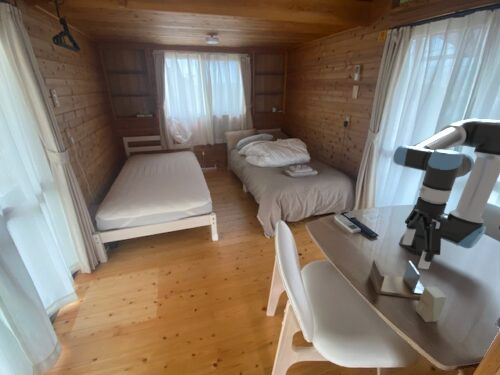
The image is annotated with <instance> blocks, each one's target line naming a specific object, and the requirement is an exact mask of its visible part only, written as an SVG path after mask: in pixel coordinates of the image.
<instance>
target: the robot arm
mask: <svg viewBox="0 0 500 375" xmlns="http://www.w3.org/2000/svg"><path fill="white" fill-rule="evenodd" d="M458 146H461V147H469V148H474V151H473V153H474V155H475V156H476V158H475V161H474V159H473V157H472V156H471V155H469V154H467V153H463V152H459V151H456V150H451V148H455V147H458ZM449 149H450V150H449ZM392 159H393V163H394V164H395V165H397V166H401V167H403V168H409V169H410V168H411V169H414V170H419V171H423V172H425V174H424V177H423V179H422V180H423V181H422V184H421V187H420V188H419V195H418V197H417V199H416V203H415V204H414V206H413V209H412V211H410V213H409V215H408V216H407V217H406V219H405V221H404V223H405V224H406V229H405V232H404V233H403V235H401V237H400V239H399V245H400V246H401V248H402V249H404V250H405V251H406V252H409V253H411V254H413V255H416V256H420V259H419V262H418V265H417V268H418V269H424V270H429V268H430V267H431V262H432V261H433V259H434V255H436V256H440V255H441V248H442V247H441V245H442V240H443V241H445V242H449V243H452V244H453V245H455V246H458V247H461V248H463V249H472V248H474V247H475V246H476V245H477V243H478V242H479V241H480V239H482V237H483V236H484V234H485V232H486V230H487V227H486V226H485V225H483V224H484V223H485V221H484V219H483V218H482V215H483V212H484V210H485V208H486V206H487V204H488V201H489V199H490V197H491V194H492V193H493V190H494V187H496V183H497V181H498V179H499V177H500V119H488V118H487V119H486V118H469V119H463V120H458V121H456V122H452V123H450V124H447V125H446V126H444V127H442V128H441V129H440V131H439V132H438V133H435V134H433V135H431V136H429V137H428V138H425V139H423V140H422V141H420V142H418V143H416V144H414V145H412V146H410V145H408V144H407V145H403V144H402V145H399V146H398V147H397V148H396V149H395V151H394V153H393V157H392ZM467 174H468V175H469V176H468V177H467V180H466V183H465V185H464V187H463V190H462V192H461V195H460V197H459V200H458V202H457V204H456V207H455V209H453V210H451V211H449V213H445V210H446V207H447V205H448V204H447V203H448V202H449V199H450V196H451V193H452V190H453V187H454V184H455V182H456V179H457V178H461V177H464V176H466V175H467Z"/></svg>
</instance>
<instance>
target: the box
mask: <svg viewBox="0 0 500 375" xmlns="http://www.w3.org/2000/svg"><path fill="white" fill-rule="evenodd" d="M421 295H422V296H421V298H420V299H419V301H418V304H417V305H416V308H415V311H416V313H418V314H419V316H420V317H421V318H422V320H423V321H424V322H426V323H432V322H437V321H438V319H439V317H440V315H441V312H442V311H443V308H444V306H445V304H446V302H447V299H448V297H447V295H445V294H444V293H443V291H441V290H440V289H439V288H438V287H437V286H424V290H423V293H422V294H421Z"/></svg>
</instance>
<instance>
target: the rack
mask: <svg viewBox="0 0 500 375" xmlns="http://www.w3.org/2000/svg"><path fill="white" fill-rule="evenodd" d="M382 270H383V269H381V266H380V264H379V262H378V260H377V259H373V262H372V265H371V268H370V272H369V278H370V279H371V282H372V284H373V287H374V289H375V292H376V293H377V294H380V295H381V294H383V295H390V296H397V297H405V298H412V299H418V300H420V298H421V296H422V294H415V293H411V291H410V290H409V288H408V286H407V284H406V283H405V281H404V279H403V277H404V276H393V275H387V274H386V275H385V274H384V273H383V271H382Z"/></svg>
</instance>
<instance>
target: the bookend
mask: <svg viewBox="0 0 500 375" xmlns="http://www.w3.org/2000/svg"><path fill="white" fill-rule="evenodd" d="M402 277H403V279H404V281H405V283H406V284H407V286H408V288H409V290H410V291H411V293H415V294H421V295H422V293H423V290H424V288H425V286H423V284H422V283H421V282H420V280H419V279H420V277H421V274H420V273H419V270H418V269H417V267H416V266H415V265H414V263H413V262H412V261H411V260H408V261H407V264H406V268H405V272H404V275H403V276H402Z"/></svg>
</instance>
